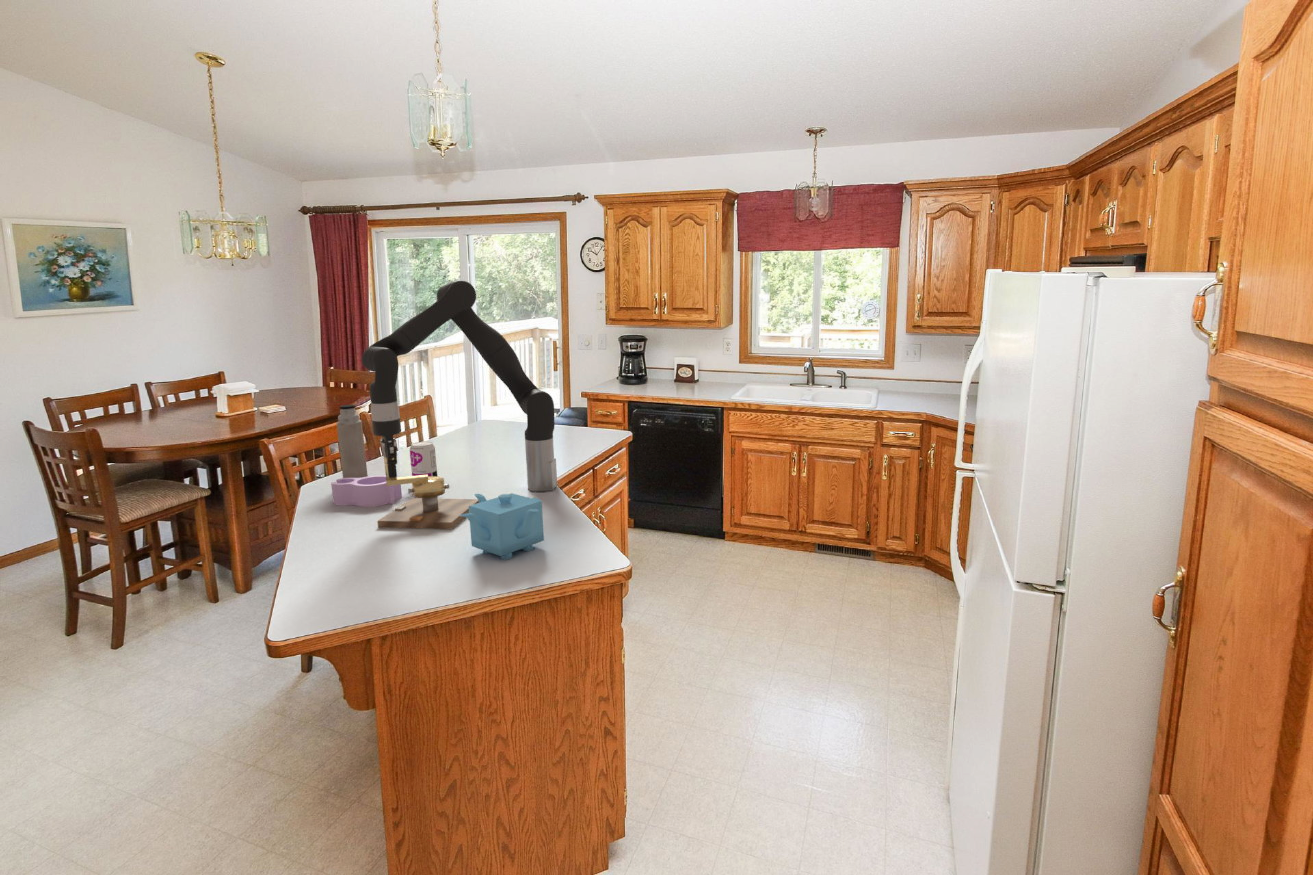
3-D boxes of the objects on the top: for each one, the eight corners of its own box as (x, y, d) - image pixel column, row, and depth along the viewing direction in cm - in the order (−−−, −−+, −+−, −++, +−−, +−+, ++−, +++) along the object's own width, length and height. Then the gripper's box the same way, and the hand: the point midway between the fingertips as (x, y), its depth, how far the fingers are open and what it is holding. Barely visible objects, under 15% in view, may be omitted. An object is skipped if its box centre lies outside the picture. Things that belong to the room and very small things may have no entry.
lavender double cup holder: (327, 508, 223) (325, 486, 222) (344, 496, 236) (342, 476, 234) (391, 506, 224) (389, 485, 222) (405, 495, 236) (403, 474, 234)
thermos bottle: (351, 481, 253) (342, 403, 247) (372, 481, 253) (364, 403, 247) (339, 487, 246) (329, 407, 240) (361, 487, 245) (352, 407, 239)
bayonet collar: (448, 487, 217) (445, 447, 215) (450, 495, 209) (447, 453, 206) (388, 494, 212) (383, 453, 209) (388, 502, 203) (383, 459, 201)
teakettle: (545, 536, 194) (542, 483, 191) (542, 561, 176) (539, 504, 173) (474, 540, 192) (470, 487, 189) (464, 566, 174) (459, 508, 171)
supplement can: (422, 491, 239) (418, 447, 236) (408, 487, 244) (404, 444, 241) (443, 485, 246) (439, 443, 242) (428, 481, 250) (424, 440, 247)
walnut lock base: (480, 505, 222) (478, 484, 221) (451, 529, 201) (449, 506, 199) (413, 504, 225) (411, 483, 223) (378, 527, 203) (375, 505, 202)
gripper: (403, 420, 198) (409, 480, 202) (396, 412, 210) (401, 468, 214) (374, 423, 195) (381, 483, 199) (369, 414, 207) (375, 471, 211)
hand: (391, 475), depth 207 cm, fingers closed on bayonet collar, 3 cm apart
